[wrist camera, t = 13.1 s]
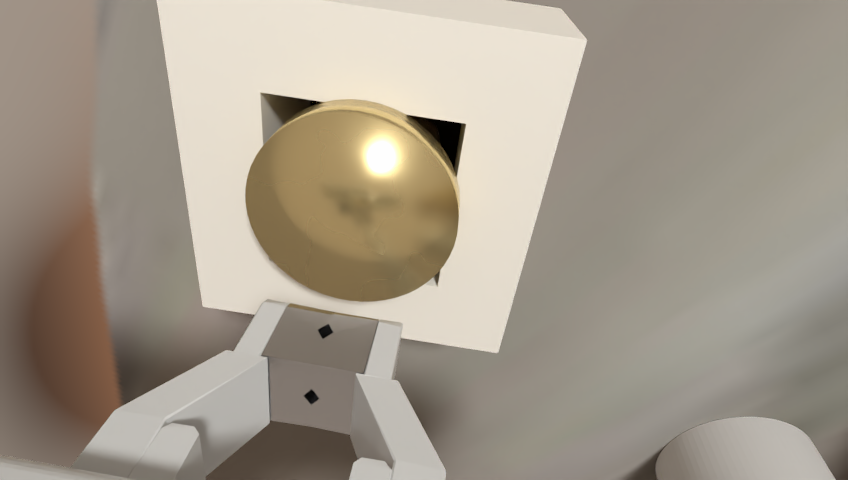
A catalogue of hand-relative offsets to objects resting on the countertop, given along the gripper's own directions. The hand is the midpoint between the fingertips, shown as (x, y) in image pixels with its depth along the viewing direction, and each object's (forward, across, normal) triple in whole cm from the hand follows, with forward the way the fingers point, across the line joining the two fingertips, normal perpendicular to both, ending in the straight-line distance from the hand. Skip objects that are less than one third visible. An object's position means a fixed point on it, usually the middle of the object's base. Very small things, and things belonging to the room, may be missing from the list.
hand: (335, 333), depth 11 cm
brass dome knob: (+10, +1, 0) cm, 10 cm away
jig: (+11, +1, 0) cm, 11 cm away
